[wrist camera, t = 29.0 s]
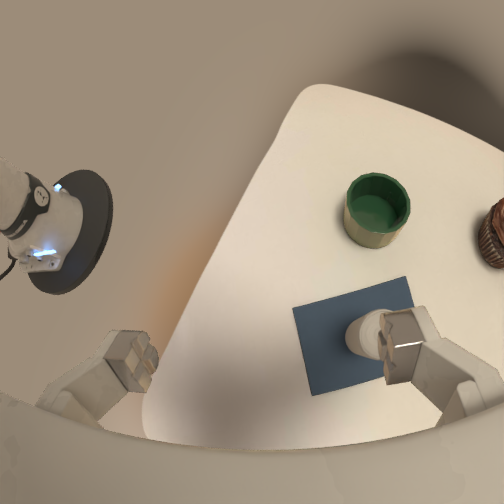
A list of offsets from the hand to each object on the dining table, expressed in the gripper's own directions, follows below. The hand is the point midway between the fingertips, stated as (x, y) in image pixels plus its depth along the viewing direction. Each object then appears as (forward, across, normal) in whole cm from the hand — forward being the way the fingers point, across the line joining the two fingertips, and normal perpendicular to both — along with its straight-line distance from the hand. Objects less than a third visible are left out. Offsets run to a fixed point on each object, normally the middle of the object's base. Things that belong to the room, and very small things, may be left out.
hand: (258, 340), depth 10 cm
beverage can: (+20, -8, +21) cm, 30 cm away
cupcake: (+28, -33, +14) cm, 45 cm away
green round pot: (+32, -12, +10) cm, 35 cm away
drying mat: (+20, -8, +21) cm, 30 cm away
